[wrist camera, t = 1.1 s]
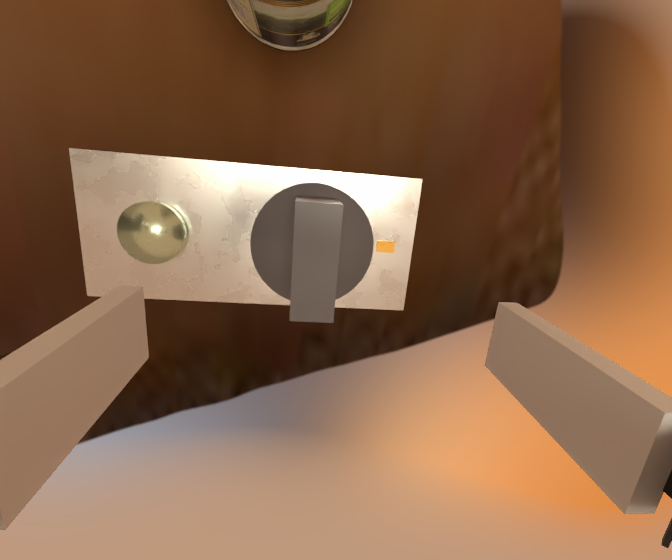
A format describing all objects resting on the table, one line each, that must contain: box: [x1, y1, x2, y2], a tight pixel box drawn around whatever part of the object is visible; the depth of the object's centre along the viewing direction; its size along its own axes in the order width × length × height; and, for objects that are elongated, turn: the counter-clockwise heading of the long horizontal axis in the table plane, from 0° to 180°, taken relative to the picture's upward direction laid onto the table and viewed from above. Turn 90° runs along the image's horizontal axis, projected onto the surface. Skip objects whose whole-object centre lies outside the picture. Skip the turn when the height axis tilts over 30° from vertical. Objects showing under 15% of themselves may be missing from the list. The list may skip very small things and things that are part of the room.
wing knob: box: [250, 182, 374, 323], centre depth 27 cm, size 10×10×8 cm
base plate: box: [69, 148, 422, 310], centre depth 31 cm, size 28×12×3 cm, turn 85°
